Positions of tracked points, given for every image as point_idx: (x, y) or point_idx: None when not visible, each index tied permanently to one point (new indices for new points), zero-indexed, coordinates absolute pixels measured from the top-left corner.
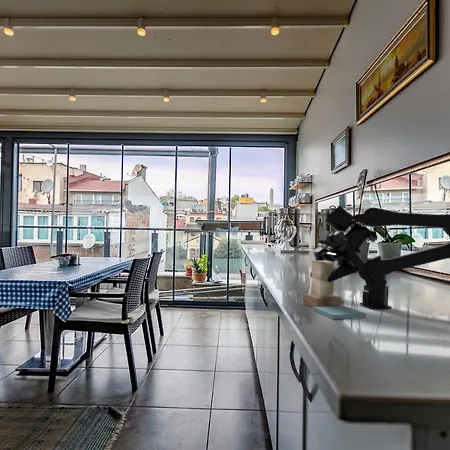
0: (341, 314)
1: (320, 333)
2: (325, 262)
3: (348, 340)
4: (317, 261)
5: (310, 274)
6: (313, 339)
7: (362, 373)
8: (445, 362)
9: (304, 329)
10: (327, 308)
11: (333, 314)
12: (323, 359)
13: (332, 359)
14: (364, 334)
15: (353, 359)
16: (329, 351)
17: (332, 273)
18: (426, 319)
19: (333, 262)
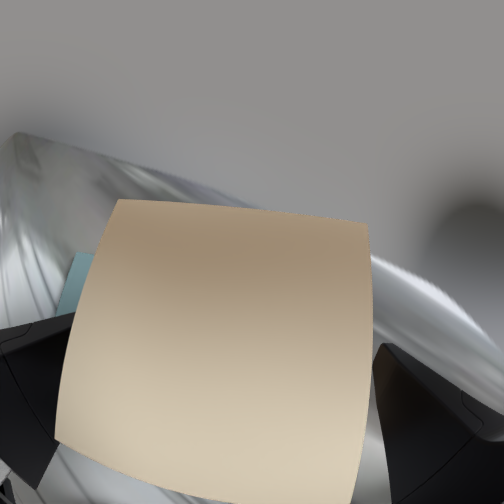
0: (66, 283)
1: (58, 170)
2: (90, 279)
3: (22, 192)
4: (204, 208)
5: (391, 345)
6: (57, 150)
7: (6, 154)
8: None
9: (85, 157)
10: None
11: (78, 259)
12: (33, 138)
13: (27, 145)
14: (10, 237)
15: (12, 162)
16: (32, 151)
17: (64, 314)
18: (16, 493)
19: (60, 427)
